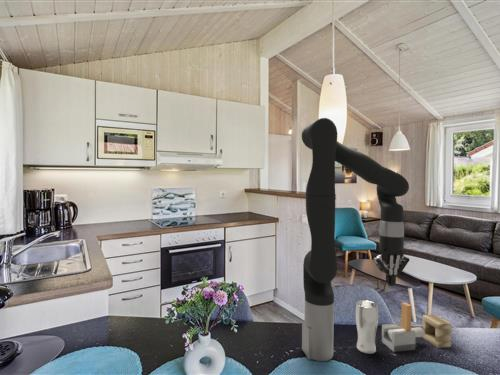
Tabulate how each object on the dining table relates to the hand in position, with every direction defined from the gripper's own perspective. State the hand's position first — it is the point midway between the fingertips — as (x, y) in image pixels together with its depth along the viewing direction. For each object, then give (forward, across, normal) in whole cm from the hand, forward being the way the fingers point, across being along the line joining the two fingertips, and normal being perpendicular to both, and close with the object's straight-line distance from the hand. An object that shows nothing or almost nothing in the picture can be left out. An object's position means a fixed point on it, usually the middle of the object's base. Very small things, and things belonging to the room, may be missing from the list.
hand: (390, 285), depth 99 cm
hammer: (+18, +6, 0) cm, 19 cm away
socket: (+21, +18, 0) cm, 28 cm away
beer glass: (+21, -9, 0) cm, 23 cm away
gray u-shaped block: (+21, +3, 0) cm, 21 cm away
